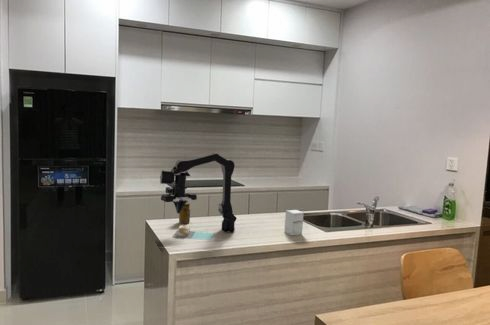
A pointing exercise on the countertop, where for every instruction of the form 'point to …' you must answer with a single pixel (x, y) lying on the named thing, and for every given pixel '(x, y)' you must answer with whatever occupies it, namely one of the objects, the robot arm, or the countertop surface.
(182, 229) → the beech block
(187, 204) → the condiment
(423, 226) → the countertop surface
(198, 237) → the runner mat
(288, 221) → the supplement box
